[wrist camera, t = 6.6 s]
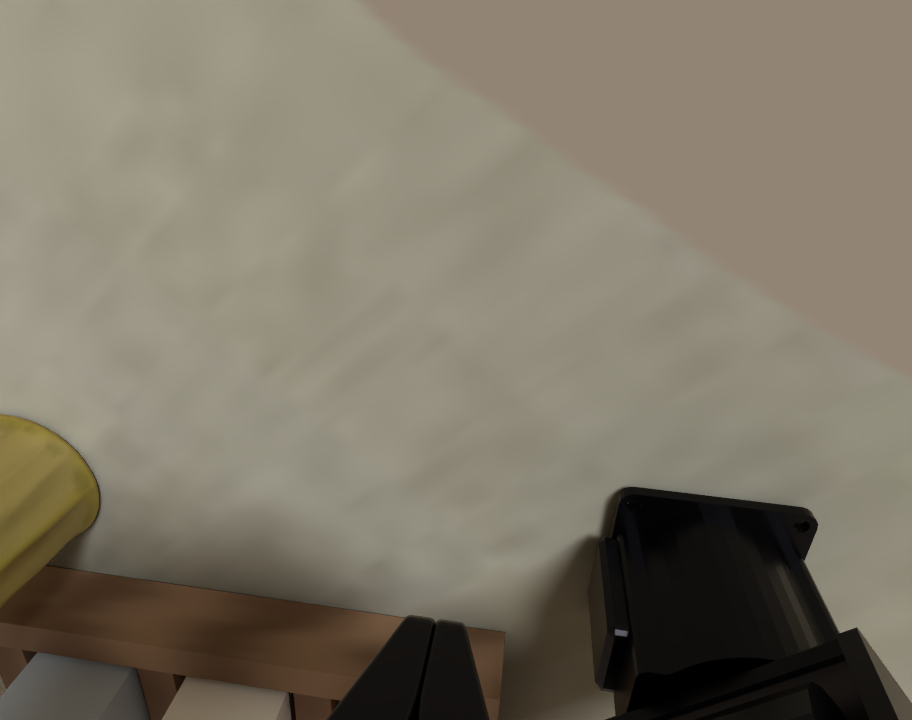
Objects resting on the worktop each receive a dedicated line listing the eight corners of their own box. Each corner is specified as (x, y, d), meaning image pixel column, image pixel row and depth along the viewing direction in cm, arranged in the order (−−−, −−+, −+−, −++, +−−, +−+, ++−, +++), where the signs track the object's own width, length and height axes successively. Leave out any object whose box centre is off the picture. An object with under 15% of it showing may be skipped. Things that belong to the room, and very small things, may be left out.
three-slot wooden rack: (505, 632, 26) (500, 700, 23) (490, 750, 29) (484, 820, 27) (31, 563, 28) (-24, 618, 25) (72, 682, 31) (28, 741, 29)
